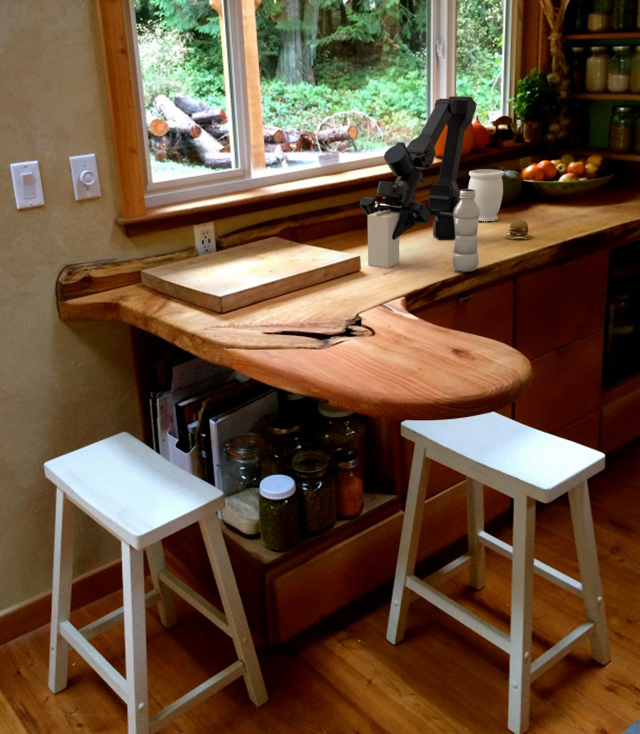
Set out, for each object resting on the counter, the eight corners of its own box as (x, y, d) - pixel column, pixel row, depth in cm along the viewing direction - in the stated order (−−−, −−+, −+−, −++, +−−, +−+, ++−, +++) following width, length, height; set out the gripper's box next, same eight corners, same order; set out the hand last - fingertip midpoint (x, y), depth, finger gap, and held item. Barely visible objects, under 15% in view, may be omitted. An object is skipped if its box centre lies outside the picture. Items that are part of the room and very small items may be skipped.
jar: (506, 218, 259) (508, 169, 253) (494, 224, 251) (496, 175, 245) (474, 215, 264) (476, 168, 259) (462, 221, 256) (463, 173, 251)
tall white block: (379, 260, 217) (379, 208, 211) (399, 263, 213) (399, 210, 208) (368, 265, 212) (367, 212, 207) (387, 268, 209) (387, 214, 204)
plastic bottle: (462, 276, 200) (465, 193, 192) (446, 270, 206) (448, 189, 198) (483, 272, 203) (487, 190, 195) (467, 266, 208) (469, 186, 201)
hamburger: (505, 245, 229) (506, 226, 227) (491, 236, 240) (492, 217, 238) (546, 242, 230) (547, 223, 228) (530, 233, 241) (531, 214, 239)
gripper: (362, 166, 213) (339, 216, 209) (425, 170, 202) (402, 223, 198) (379, 191, 221) (357, 240, 217) (440, 197, 211) (418, 248, 207)
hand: (382, 237), depth 210 cm, fingers closed on tall white block, 6 cm apart
